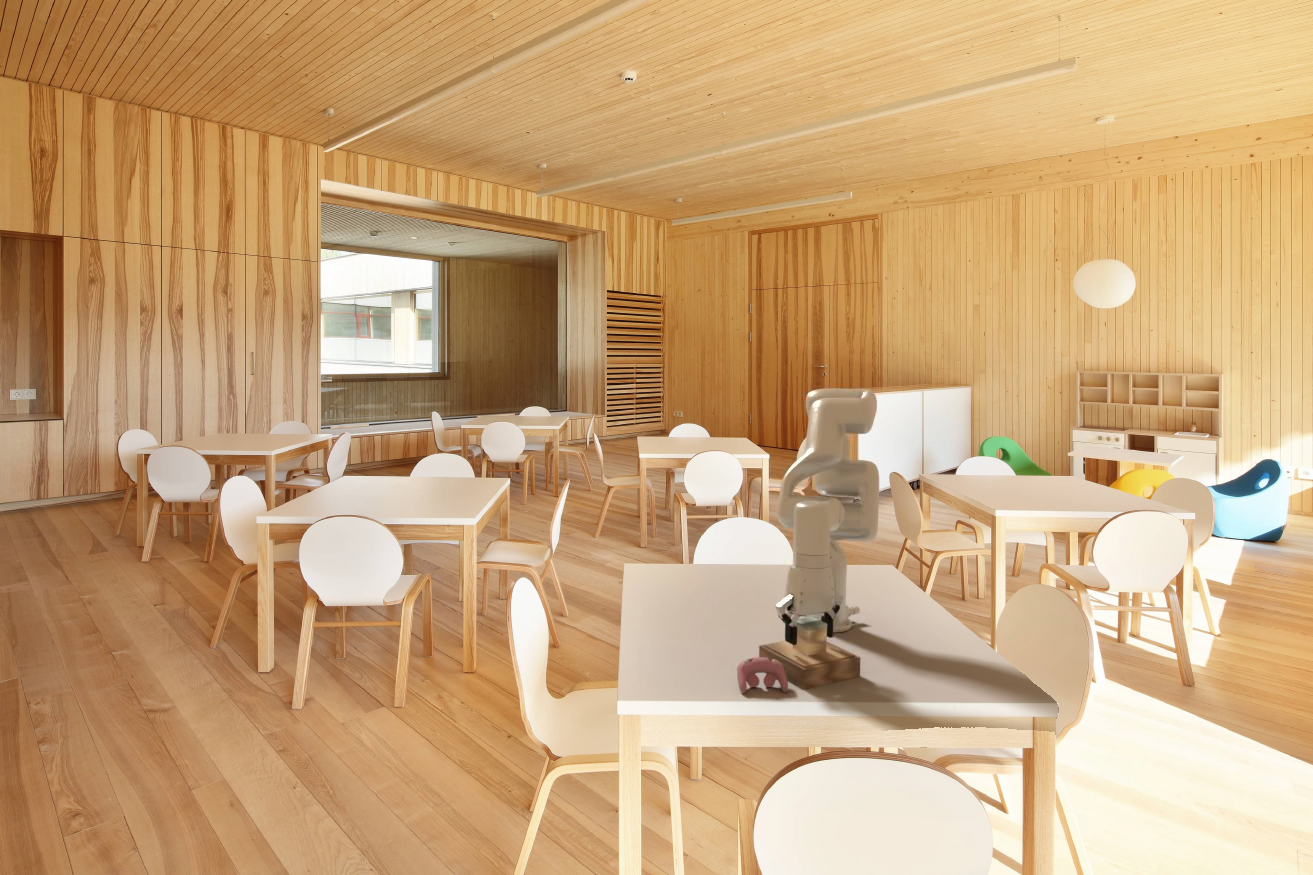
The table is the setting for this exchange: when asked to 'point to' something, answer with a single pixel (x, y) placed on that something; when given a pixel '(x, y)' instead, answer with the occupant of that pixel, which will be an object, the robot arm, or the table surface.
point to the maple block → (811, 636)
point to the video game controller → (761, 665)
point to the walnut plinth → (813, 664)
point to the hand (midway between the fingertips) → (809, 639)
